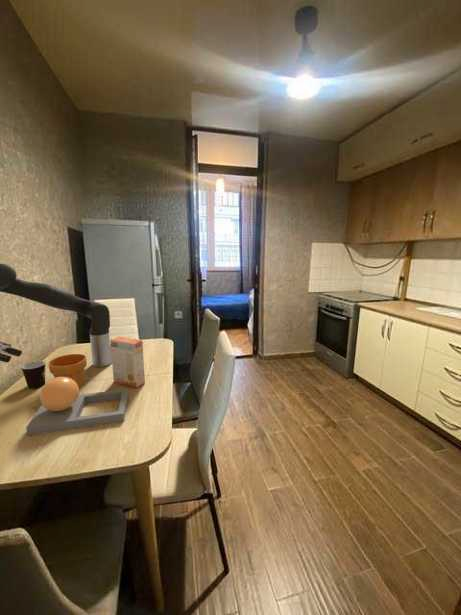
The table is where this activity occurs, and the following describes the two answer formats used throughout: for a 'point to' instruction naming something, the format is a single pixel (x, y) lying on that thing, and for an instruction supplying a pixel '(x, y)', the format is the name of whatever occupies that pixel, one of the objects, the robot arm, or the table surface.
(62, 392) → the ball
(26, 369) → the coffee mug
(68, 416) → the tray
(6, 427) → the table surface
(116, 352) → the cracker box
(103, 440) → the table surface
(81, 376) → the flower pot
